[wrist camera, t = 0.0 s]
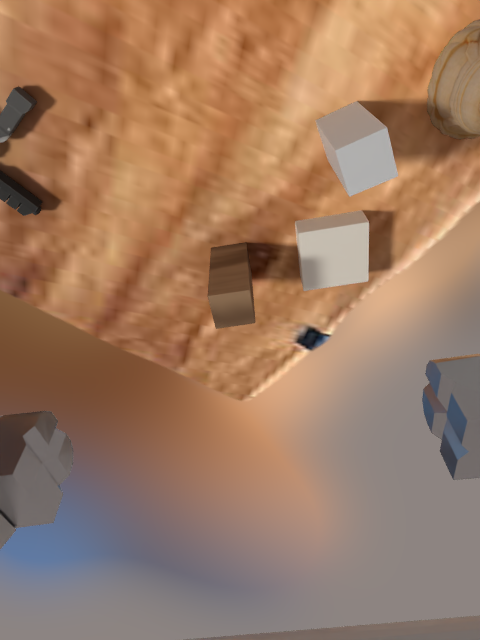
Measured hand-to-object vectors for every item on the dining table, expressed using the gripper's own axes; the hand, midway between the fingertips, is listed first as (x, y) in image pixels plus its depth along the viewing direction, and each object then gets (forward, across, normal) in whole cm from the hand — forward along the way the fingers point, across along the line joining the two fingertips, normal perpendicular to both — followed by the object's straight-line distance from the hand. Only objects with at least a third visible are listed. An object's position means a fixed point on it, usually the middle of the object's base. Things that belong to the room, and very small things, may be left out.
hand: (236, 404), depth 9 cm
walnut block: (+48, +4, +23) cm, 54 cm away
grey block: (+48, -12, +8) cm, 50 cm away
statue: (+48, -27, +5) cm, 56 cm away
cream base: (+48, -10, +23) cm, 55 cm away
